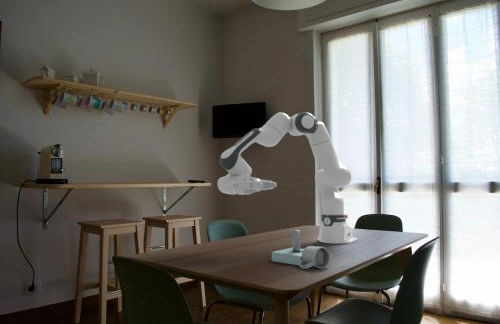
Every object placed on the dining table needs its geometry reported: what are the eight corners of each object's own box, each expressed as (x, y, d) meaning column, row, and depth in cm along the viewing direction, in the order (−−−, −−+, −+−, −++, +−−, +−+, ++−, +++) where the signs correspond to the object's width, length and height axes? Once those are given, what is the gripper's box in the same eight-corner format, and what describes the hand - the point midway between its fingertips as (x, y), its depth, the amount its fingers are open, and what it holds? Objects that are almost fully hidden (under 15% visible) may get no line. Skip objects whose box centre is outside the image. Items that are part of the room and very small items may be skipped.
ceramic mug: (314, 263, 149) (314, 243, 149) (330, 267, 142) (329, 246, 142) (293, 267, 143) (293, 246, 143) (309, 271, 136) (308, 249, 136)
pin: (295, 259, 156) (295, 229, 157) (301, 260, 154) (301, 230, 155) (291, 260, 154) (290, 230, 155) (297, 261, 152) (297, 230, 153)
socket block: (292, 255, 164) (292, 247, 164) (320, 259, 155) (320, 251, 155) (271, 260, 154) (271, 252, 154) (301, 265, 144) (301, 256, 145)
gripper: (229, 178, 170) (253, 177, 161) (259, 178, 186) (282, 178, 176) (229, 192, 170) (253, 193, 161) (259, 191, 185) (282, 191, 176)
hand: (269, 185), depth 169 cm, fingers open, 8 cm apart
